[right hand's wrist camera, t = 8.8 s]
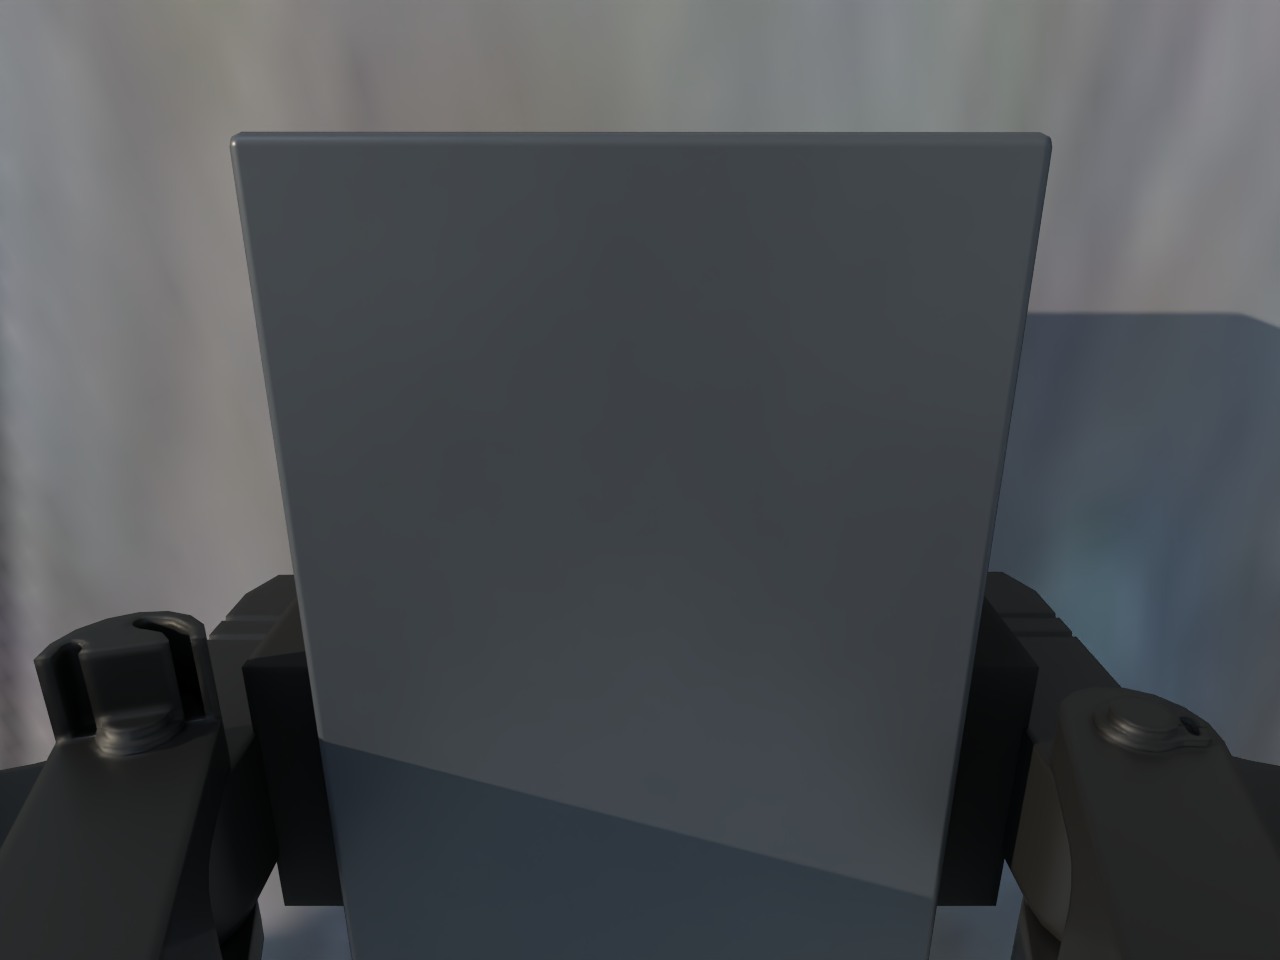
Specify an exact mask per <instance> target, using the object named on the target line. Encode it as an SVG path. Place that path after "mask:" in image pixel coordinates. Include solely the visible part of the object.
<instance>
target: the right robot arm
mask: <svg viewBox="0 0 1280 960" xmlns="http://www.w3.org/2000/svg"><path fill="white" fill-rule="evenodd" d="M209 637H210V638H209V640H207V638H206V632H205V627H204V624H203V623H201V622H200V621H198V620H197V619H195V618H194V617H192V616H191V615H186V614H181V613H176V612H170V611H159V612H138V613H133V614H128V615H123V616H118V617H113V618H108V619H105V620H102V621H99V622H96V623H93V624H91V625H88V626H85V627H82V628H79V629H76V630H74V631H73V632H71V633H69V634H67V635H65V636H64V637H62V638H60V639H58V640H56V641H55V642H53V643H51V644H50V645H49V646H48V647H46V648H45V649H44V650H43V651H42V652H41V653H40V654H39V655H38V656H37V657H36V658H35V659H34V664H35V667H36V671H37V675H38V678H39V682H40V686H41V689H42V693H43V696H44V700H45V704H46V707H47V711H48V715H49V718H50V722H51V725H52V729H53V733H54V736H55V740H56V744H55V746H54V748H53V750H52V751H51V753H50V755H49V757H48V759H47V761H44V762H40V763H36V764H31V765H26V766H21V767H15V768H10V769H5V770H0V960H261V958H262V950H263V942H264V934H263V927H262V920H261V915H260V910H259V904H258V897H259V895H260V893H261V891H262V890H263V888H264V886H265V884H266V882H267V880H268V878H269V876H270V874H271V872H272V870H273V868H274V866H275V864H276V862H277V865H278V871H279V876H280V882H281V887H282V893H283V898H284V904H285V906H344V904H343V897H342V891H341V884H340V877H339V871H338V864H337V857H336V851H335V844H334V837H333V831H332V824H331V818H330V811H329V804H328V798H327V791H326V784H325V778H324V771H323V764H322V758H321V751H320V744H319V738H318V731H317V724H316V718H315V711H314V704H313V698H312V691H311V685H310V678H309V671H308V665H307V658H306V651H305V645H304V638H303V631H302V625H301V618H300V611H299V605H298V598H297V591H296V585H295V578H294V575H278V576H276V577H274V578H273V579H271V580H269V581H267V582H266V583H264V584H262V585H261V586H259V587H257V588H255V589H254V590H252V591H250V592H248V593H247V594H245V595H244V597H243V598H242V599H241V600H240V601H239V602H238V603H237V604H236V606H235V607H234V608H233V609H232V610H231V611H230V612H229V614H228V615H227V616H226V621H221V623H220V624H219V625H218V626H217V627H216V628H215V629H214V631H213V632H212V633H211V634H210V635H209ZM1004 858H1005V860H1006V862H1007V864H1008V866H1009V868H1010V870H1011V872H1012V874H1013V876H1014V878H1015V880H1016V881H1017V883H1018V885H1019V887H1020V889H1021V891H1022V893H1023V899H1022V904H1021V910H1020V915H1019V920H1018V925H1017V930H1016V935H1015V940H1014V945H1013V951H1012V956H1011V960H1280V766H1276V765H1271V764H1266V763H1260V762H1255V761H1250V760H1245V759H1241V758H1237V757H1233V756H1231V754H1230V752H1229V750H1228V748H1227V746H1226V744H1225V742H1224V741H1223V740H1222V738H1221V737H1220V736H1219V735H1218V734H1217V732H1216V731H1215V730H1214V729H1213V728H1212V727H1211V725H1210V724H1209V723H1207V722H1206V721H1204V720H1203V719H1201V718H1200V717H1198V716H1197V715H1195V714H1194V713H1192V712H1191V711H1189V710H1188V709H1186V708H1185V707H1182V706H1180V705H1178V704H1175V703H1173V702H1170V701H1168V700H1166V699H1163V698H1161V697H1158V696H1156V695H1153V694H1148V693H1144V692H1140V691H1135V690H1131V689H1127V688H1121V686H1120V685H1119V684H1118V683H1117V682H1116V681H1115V680H1114V679H1113V678H1112V676H1111V675H1110V674H1109V673H1108V672H1107V671H1106V670H1105V669H1104V667H1103V666H1102V665H1101V664H1100V663H1099V662H1098V661H1097V660H1096V658H1095V657H1094V656H1093V655H1092V654H1091V653H1090V652H1089V651H1088V649H1087V648H1086V647H1085V646H1084V645H1083V644H1082V643H1081V642H1080V640H1079V639H1078V638H1077V637H1072V631H1071V630H1070V629H1069V628H1068V627H1067V626H1066V625H1065V624H1064V622H1063V621H1062V620H1061V619H1060V618H1056V617H1055V612H1054V611H1053V610H1052V609H1051V608H1050V607H1049V606H1048V604H1047V603H1046V602H1045V601H1044V600H1043V599H1042V598H1041V597H1040V595H1039V594H1038V593H1037V592H1036V591H1035V590H1033V589H1031V588H1029V587H1028V586H1026V585H1024V584H1022V583H1021V582H1019V581H1017V580H1015V579H1014V578H1012V577H1010V576H1008V575H1007V574H1005V573H1003V572H987V579H986V585H985V592H984V599H983V605H982V612H981V618H980V625H979V631H978V638H977V645H976V651H975V658H974V664H973V671H972V677H971V684H970V691H969V697H968V704H967V710H966V717H965V723H964V730H963V736H962V743H961V750H960V756H959V763H958V769H957V776H956V782H955V789H954V796H953V802H952V809H951V815H950V822H949V828H948V835H947V842H946V848H945V855H944V861H943V868H942V874H941V881H940V888H939V894H938V901H937V906H996V902H997V897H998V891H999V886H1000V880H1001V875H1002V869H1003V864H1004Z"/></svg>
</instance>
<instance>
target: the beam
mask: <svg viewBox="0 0 1280 960" xmlns="http://www.w3.org/2000/svg"><path fill="white" fill-rule="evenodd" d="M1051 152H1052V143H1051V138H1050V137H1049V136H1047V135H1045V134H1042V133H1040V132H240V133H238V134H236V135H234V136H232V137H231V141H230V153H231V159H232V166H233V173H234V179H235V186H236V193H237V199H238V206H239V213H240V219H241V226H242V232H243V239H244V246H245V252H246V259H247V266H248V272H249V279H250V286H251V292H252V299H253V306H254V312H255V319H256V326H257V332H258V339H259V345H260V352H261V359H262V365H263V372H264V379H265V385H266V392H267V399H268V405H269V412H270V419H271V425H272V432H273V439H274V445H275V452H276V459H277V465H278V472H279V478H280V485H281V492H282V498H283V505H284V512H285V518H286V525H287V532H288V538H289V545H290V552H291V558H292V565H293V572H294V578H295V585H296V591H297V598H298V605H299V611H300V618H301V625H302V631H303V638H304V645H305V651H306V658H307V665H308V671H309V678H310V685H311V691H312V698H313V704H314V711H315V718H316V724H317V731H318V738H319V744H320V751H321V758H322V764H323V771H324V778H325V784H326V791H327V798H328V804H329V811H330V818H331V824H332V831H333V837H334V844H335V851H336V857H337V864H338V871H339V877H340V884H341V891H342V897H343V904H344V911H345V917H346V924H347V931H348V937H349V944H350V950H351V957H352V960H929V953H930V947H931V940H932V933H933V927H934V920H935V914H936V907H937V901H938V894H939V888H940V881H941V874H942V868H943V861H944V855H945V848H946V842H947V835H948V828H949V822H950V815H951V809H952V802H953V796H954V789H955V782H956V776H957V769H958V763H959V756H960V750H961V743H962V736H963V730H964V723H965V717H966V710H967V704H968V697H969V691H970V684H971V677H972V671H973V664H974V658H975V651H976V645H977V638H978V631H979V625H980V618H981V612H982V605H983V599H984V592H985V585H986V579H987V572H988V566H989V559H990V553H991V546H992V540H993V533H994V526H995V520H996V513H997V507H998V500H999V494H1000V487H1001V480H1002V474H1003V467H1004V461H1005V454H1006V448H1007V441H1008V434H1009V428H1010V421H1011V415H1012V408H1013V402H1014V395H1015V388H1016V382H1017V375H1018V369H1019V362H1020V356H1021V349H1022V343H1023V336H1024V329H1025V323H1026V316H1027V310H1028V303H1029V297H1030V290H1031V283H1032V277H1033V270H1034V264H1035V257H1036V251H1037V244H1038V237H1039V231H1040V224H1041V218H1042V211H1043V205H1044V198H1045V191H1046V185H1047V178H1048V172H1049V165H1050V159H1051Z"/></svg>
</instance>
